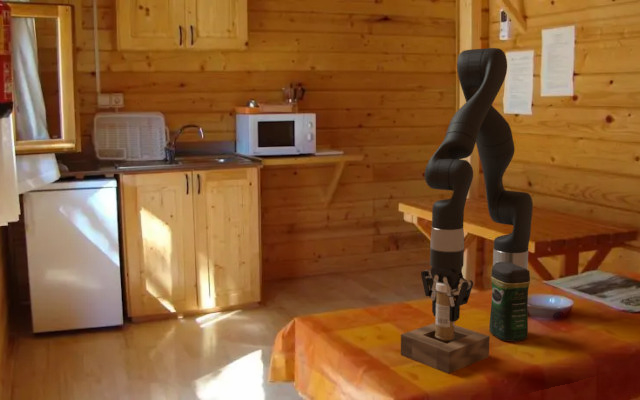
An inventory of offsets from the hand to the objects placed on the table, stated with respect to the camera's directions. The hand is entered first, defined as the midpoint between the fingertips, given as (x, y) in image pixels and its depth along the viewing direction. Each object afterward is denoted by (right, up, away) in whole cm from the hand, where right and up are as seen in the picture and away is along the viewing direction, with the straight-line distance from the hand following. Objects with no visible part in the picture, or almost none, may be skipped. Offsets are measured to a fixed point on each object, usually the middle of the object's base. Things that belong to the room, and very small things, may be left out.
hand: (445, 317), depth 168 cm
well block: (0, -9, +2) cm, 9 cm away
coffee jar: (+18, -7, +14) cm, 24 cm away
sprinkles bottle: (0, -5, +1) cm, 5 cm away
